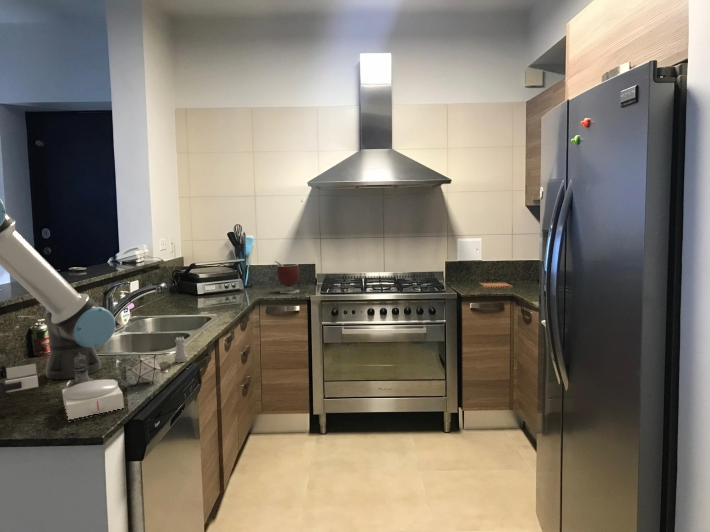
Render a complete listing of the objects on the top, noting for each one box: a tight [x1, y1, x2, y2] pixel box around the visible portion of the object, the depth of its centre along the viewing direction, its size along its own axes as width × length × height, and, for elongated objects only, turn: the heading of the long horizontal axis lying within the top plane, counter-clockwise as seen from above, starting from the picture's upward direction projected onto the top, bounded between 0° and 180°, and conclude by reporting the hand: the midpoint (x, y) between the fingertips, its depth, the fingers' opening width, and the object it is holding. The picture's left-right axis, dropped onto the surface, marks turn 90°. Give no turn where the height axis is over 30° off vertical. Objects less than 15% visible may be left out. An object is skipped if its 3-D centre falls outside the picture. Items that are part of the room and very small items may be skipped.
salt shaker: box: [69, 352, 95, 387], centre depth 132 cm, size 6×6×12 cm
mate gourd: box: [274, 260, 301, 294], centre depth 306 cm, size 16×14×20 cm
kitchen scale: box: [62, 378, 125, 421], centre depth 123 cm, size 14×12×5 cm
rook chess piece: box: [174, 336, 189, 364], centre depth 161 cm, size 4×4×8 cm
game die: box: [126, 354, 165, 386], centre depth 140 cm, size 9×8×10 cm
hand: (37, 374), depth 127 cm, fingers open, 13 cm apart
